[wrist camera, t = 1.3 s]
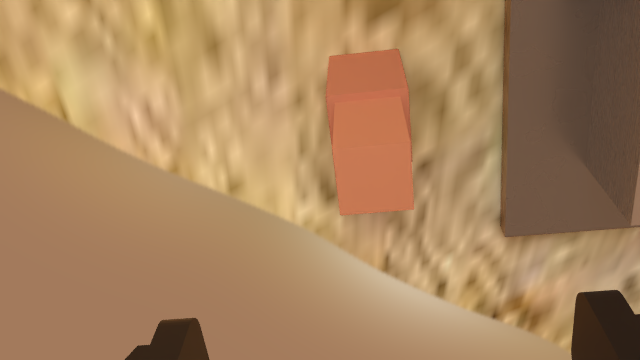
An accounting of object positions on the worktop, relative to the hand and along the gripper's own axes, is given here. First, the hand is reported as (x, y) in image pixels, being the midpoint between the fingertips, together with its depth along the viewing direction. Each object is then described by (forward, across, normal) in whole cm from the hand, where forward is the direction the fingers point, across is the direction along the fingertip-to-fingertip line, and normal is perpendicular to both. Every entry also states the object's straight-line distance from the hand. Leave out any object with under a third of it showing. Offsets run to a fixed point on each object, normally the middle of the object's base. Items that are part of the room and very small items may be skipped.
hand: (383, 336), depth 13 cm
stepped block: (+16, 0, 0) cm, 16 cm away
